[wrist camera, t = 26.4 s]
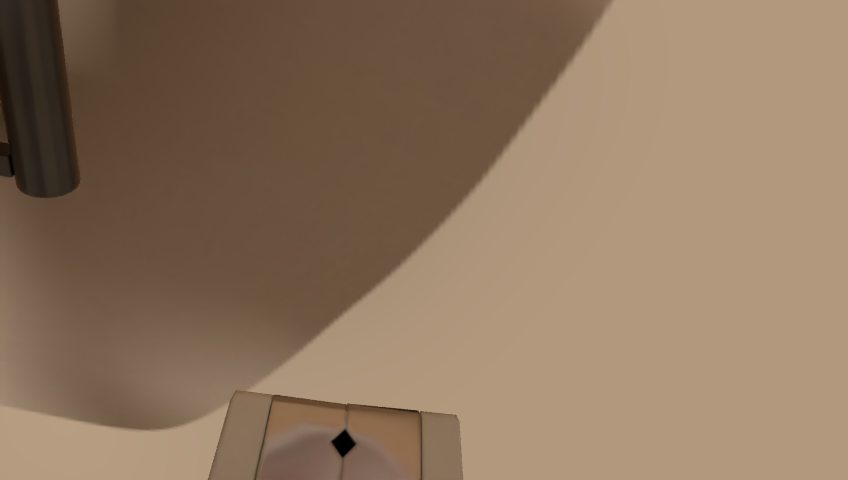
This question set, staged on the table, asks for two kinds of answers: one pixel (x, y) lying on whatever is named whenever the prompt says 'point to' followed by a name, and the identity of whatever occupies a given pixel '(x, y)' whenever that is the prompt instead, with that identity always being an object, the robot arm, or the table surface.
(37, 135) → the drawer
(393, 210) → the table surface
